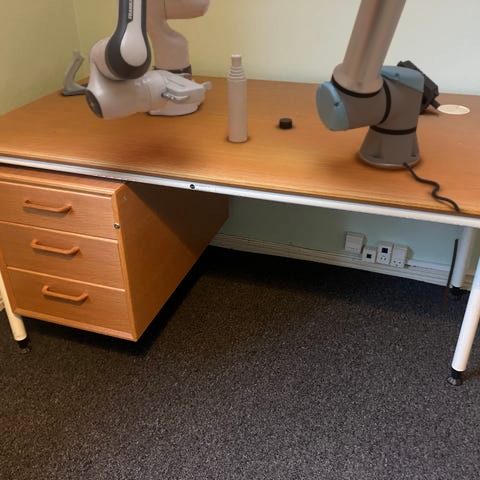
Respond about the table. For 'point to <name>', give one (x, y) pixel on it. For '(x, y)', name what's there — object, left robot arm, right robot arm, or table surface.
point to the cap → (285, 123)
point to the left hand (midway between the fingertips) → (200, 80)
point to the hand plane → (73, 76)
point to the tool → (428, 88)
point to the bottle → (237, 101)
